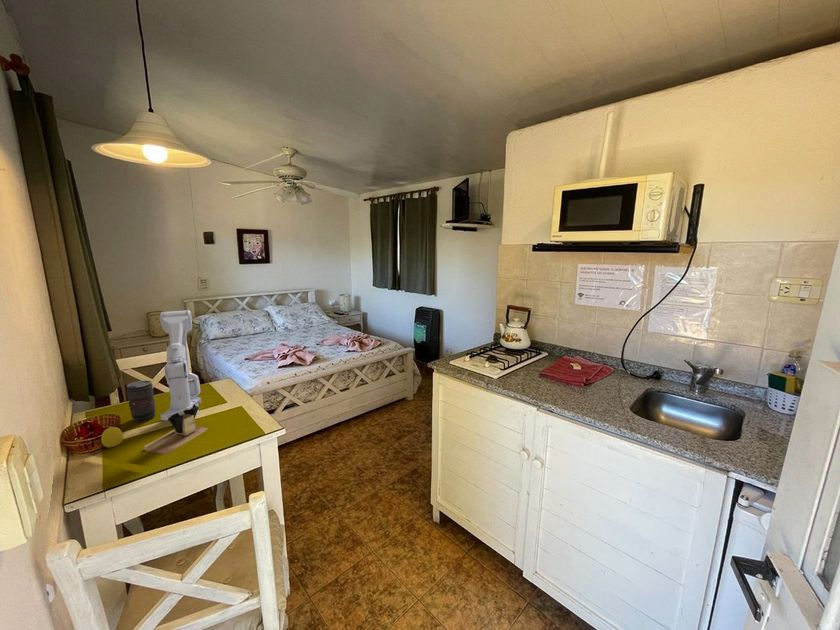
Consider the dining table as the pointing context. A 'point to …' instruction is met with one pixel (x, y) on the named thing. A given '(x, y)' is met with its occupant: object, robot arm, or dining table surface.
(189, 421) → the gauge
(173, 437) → the board
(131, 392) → the camera lens
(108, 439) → the lemon
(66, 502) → the dining table surface
